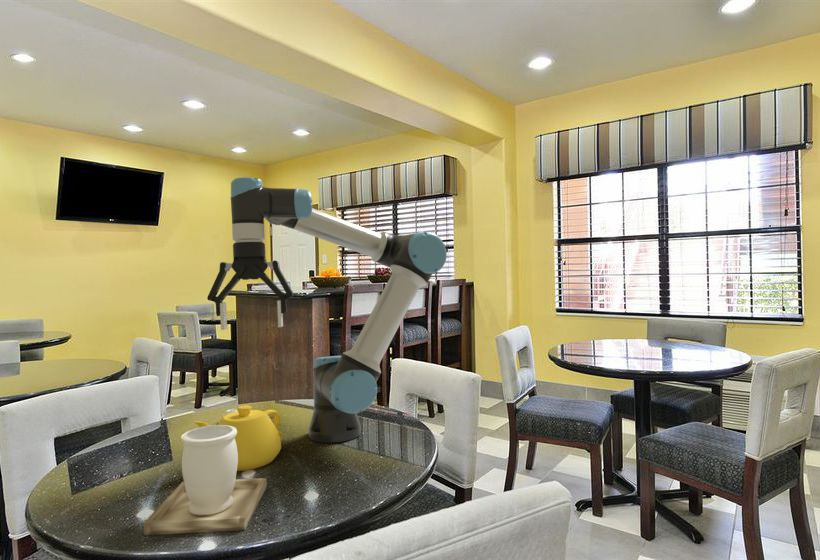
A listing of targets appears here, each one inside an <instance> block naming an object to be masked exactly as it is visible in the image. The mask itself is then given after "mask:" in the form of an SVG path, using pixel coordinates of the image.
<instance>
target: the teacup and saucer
mask: <svg viewBox="0 0 820 560" xmlns="http://www.w3.org/2000/svg"><path fill="white" fill-rule="evenodd" d="M233 412H237V408H231V409H227V410H226V411H224V412H223V413H222V414H223V417H224V416H225V415H227V414H229V413H233ZM225 413H226V414H225Z"/></svg>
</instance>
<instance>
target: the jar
mask: <svg viewBox="0 0 820 560" xmlns="http://www.w3.org/2000/svg"><path fill="white" fill-rule="evenodd" d="M236 435H237V429H236V428H235V427H233V426H229V425H218V424H215V425H209V426H205V427H197V428H194V429H191V430H188V431H186V432H184V433H183V434H182V435H181V436H180V437H181V439H180V440H181V443H182V444H184V446H183V450H182V456H181V472H182V479H183V482H185V489H186V493H187V496H188V498H189V500H190V501H191V503H190V505H189V512H190V513H192V514H194V515H211V514H215V513H219V512H222V511H224V510H226V509H227V508H229V507H230V506H231V505H232V504H233V497H232V496H231V493H232V491H233V489H234V485H235V480H236V479H237V478H236V477H237V472H238V471H237V466H238V452H237V445H236V441H235V439H234V437H235V436H236Z"/></svg>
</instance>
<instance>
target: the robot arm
mask: <svg viewBox="0 0 820 560" xmlns="http://www.w3.org/2000/svg"><path fill="white" fill-rule="evenodd" d="M230 208H231V209H230V210H231V225H232V226H231V227H232V230H231V233H232V241H234V243H233V244H232V253H233V254H232V256H233V257H232V258H233V261H232V263H231V262H230V263H228V262H226V261H225V262H224V261H223V262H220V263H219V269H218V270H219V272H218V274H217V275H216V278H215V279H214V281H213V285H212V286H211V288H210V290H209V293H208V295H207V297H206V299H207V300H208V301H209V302H213V303H215V314H216V316H217V317H220V331H224V330H227V329H228V320H227V319H228V318H227V302H224V300H225V299H226V298H227V296H228V295H230V293H231V291H232V290H233V289H234V288H235V287H236V285H237V284H238V283H239V282H240V281H241V280H242V281H247V280H259V279H260V280H261V281H263V282H264V283H265V284H266V285H267V287H269V289H271V291H272V292H273V293H274V295H275V296H277V297H278V298H279V300H276V305H277V306H276V308H277V328H282V327H284V318H283V316H284V315H283V314H286V313H287V311H288V309H287V308H288V307H287V300H289V299H290V298H292V297H294V292H293V290H292V288H291V286H290V285H289V283H288V281H287V279H286V277H285V275H284V273H283V272H282V271H281V268H280V262H279V261H278V260H273V261H267V258H266V243H265V242H263V241H265V240H266V239H265V236H266V235H265V220H266V221H267V222H268V223H269V224H271V225H276V226H282V227H283V226H284V227H286V228H289V229H291V230H292V229H293V230H296V231H298V232H301V233H303V234H307V235H309V236H312V237H314V238H317V239H321V240H323V241H325V242H329V243H332V244H334V245H337V246H340V247H343V248H344V249H345V248H346V249H348V250H351V251H354V252H356V253H359V254H362V255H365V256H368V257H370V258H371V260H372V262H375V263H377V264H380V265H383V266H384V267H387V268H389V269H390V271H391V275H390V278H389V279H388V281H387V282H386V284H385V286H384V288H383V290H382V292H381V294H380V296H379V298H378V299H377V301H376V303H375V305H374V307H373V309H372V311H371V312H370V314H369V316H368V318H367V320H366V322H365V324H364V325H363V326H362V329H361V331H360V333H359V335H358V336H357V338H356V341H355V342H354V344H353V346H352V347H351V349H349V350H347V351H344V352H342V355H331V356H321V357H316V358H315V359H314V360H313V366H312V373H313V375H312V376H313V406H314V408H313V412H312V416H311V419H310V423H309V427H308V438H309V439H310V440H312V441H313V442H318V443H326V444H327V443H330V444H331V443H333V444H334V443H342V442H347V441H351V440H354V439H356V438H357V437H360V435H361V433H362V432H361V431H362V426H361V423H360V420H359V416H358V414H359V413H361V412H364V411H366V410H367V409H368V408H370V407H371V406H372V404H373V403H374V402H375V400H376V398H377V394H378V384H377V381H378V379H379V378H380V376H381V373H382V371H381V368H380V367H381V366H380V364H381V361H382V359H383V358H384V356H385V354H386V352H387V350H388V348H389V346H390V344H391V342H392V341H393V338H394V336H395V335H396V333H397V332H398V329H399V327H400V325H401V324H402V322H403V319H404V318H405V315H406V313H407V312H408V310H409V308H410V306H411V304H412V302H413V301H414V298H415V297H416V295H417V293H418V290H420V289H421V288H424V287H427V285H428V283H429V282H430V280H431V277H432V275H433V274H435V273H437V272H439V271H440V270H441V269H443V267H444V266H445V264H446V262H447V258H448V257H447V256H448V255H447V254H448V253H447V249H446V245H445V242H444V241H443V240H442V239H441V237H440V236H439V235H438V234H435V233H433V232H431V231H417V232H415V233H410V234H401V235H400V234H399V235H398V234H392V233H389V232H386V231H381V232H377V231H374V230H372V229H368V228H366V227H364V226H361V225H358V224H355V223H353V222H350V221H348V220H345V219H343V218H340V217H338V216H335V215H332V214H329V213H326V212H324V211H321V210H318V209H316V208H314V207H313V196H312V194H311V191H309V189H302V188H298V187H296V188H282V187H281V188H279V187H278V188H275V187H267V186H266V187H265V186H264V185H263V181H262V179H260V178H257V177H252V176H251V177H249V176H245V177H244V176H243V177H236V178H234V179H233V180H232V181H231V183H230ZM268 268H270V270H271V271H274V272H273V273H274V274H275V276H276V278H277V280H278V281H279V283H280V285H281V287H282V289H283V290H284V292H285V293H284V292H283V291H282V290H281V289H280V288H279V286H277V284H276V283H274V281H273V280H272V279H271V278H270V277H269V275H267V274H266V273H265V271H266V270H267V269H268ZM231 269H232V270H233V271H234V272H235V273H234V275H233V276H232V277H231V279H230V280H229V282H228V283H226V286H225V287H223V289H222V290H221V292H220V293H219V290H220V289H221V287H222V284H223V282H224V280H225V278H226V276H227V274H228V272H230V270H231ZM218 293H219V294H218Z"/></svg>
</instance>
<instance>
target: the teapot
mask: <svg viewBox="0 0 820 560" xmlns="http://www.w3.org/2000/svg"><path fill="white" fill-rule="evenodd" d="M236 409H237V412H233V413H229V414H227V413H226V414H224V415H225V416H224V415H223V416H222V417H221V419H220V420H219V422H218V424H217V425H229V426H233V427H235V428H236V429H237V435H236V436H235V437H234V439H235V441H236V445H237V452H238V466H237V472H242V471H249V470H250V471H251V470H255V469H258V468H261V467H264V466H266V465H268V464H270V463H272V462H273V461H274V460H275V459H276V457H277V456H278V455H279V453H280V451H281V449H282V440H283V439H284V434H283V432H282V431H280V430H279V429H280V425H281V415H280V412H278V411H277V410H275V409H267V410H264V411H263V410H259V409H252V406H251V405H245V404H244V405H240V406H238V407H237V408H236ZM271 414H272V415H273V417H274V420H273V421H272V419H271V418H270V416H269V415H271ZM193 423H194V424H196V425H197V426H198V428H200V427H205V426H210V425H209V423H208V422H206V421H199V420H195V421H193Z"/></svg>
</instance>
